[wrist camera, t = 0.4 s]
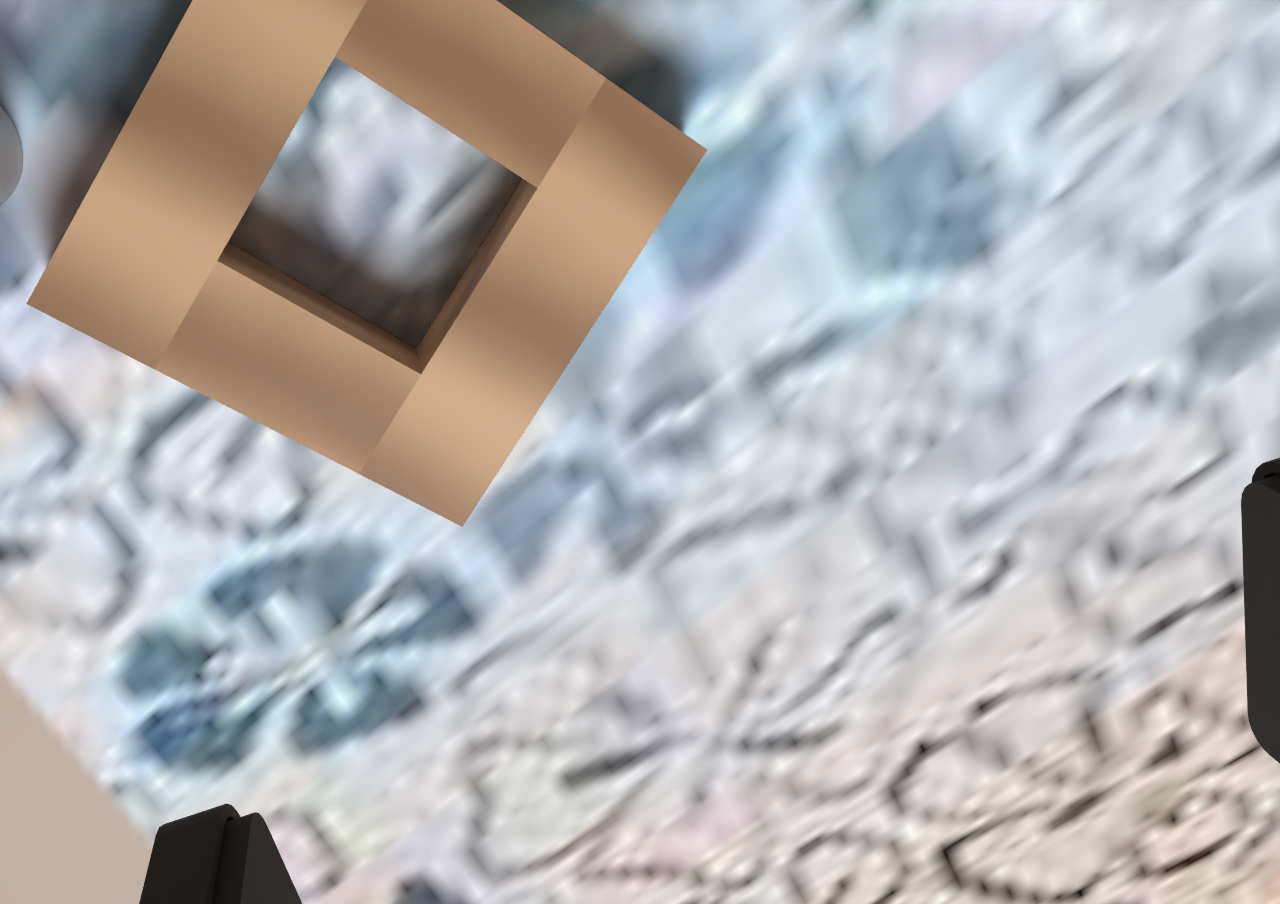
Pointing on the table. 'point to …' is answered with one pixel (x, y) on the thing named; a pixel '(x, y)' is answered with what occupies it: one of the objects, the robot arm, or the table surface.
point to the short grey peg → (9, 156)
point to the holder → (313, 324)
